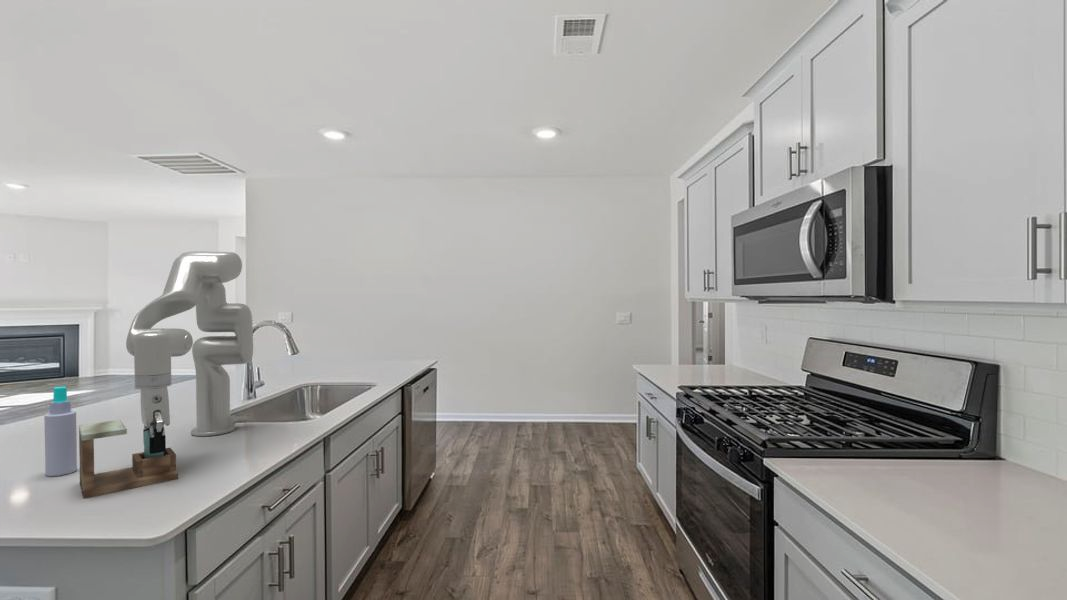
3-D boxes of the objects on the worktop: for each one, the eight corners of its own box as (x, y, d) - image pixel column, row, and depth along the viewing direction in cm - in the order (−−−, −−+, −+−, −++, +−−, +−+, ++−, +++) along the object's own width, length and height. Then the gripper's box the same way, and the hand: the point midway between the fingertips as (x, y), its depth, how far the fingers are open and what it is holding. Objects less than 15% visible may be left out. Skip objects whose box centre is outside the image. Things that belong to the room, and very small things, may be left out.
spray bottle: (51, 470, 136) (50, 386, 136) (80, 467, 139) (79, 384, 138) (40, 478, 131) (39, 390, 130) (71, 475, 133) (70, 388, 133)
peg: (162, 466, 135) (162, 427, 135) (165, 470, 132) (164, 430, 132) (143, 469, 133) (142, 430, 132) (145, 473, 130) (145, 433, 130)
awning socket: (168, 465, 140) (168, 413, 140) (178, 478, 131) (177, 422, 130) (79, 482, 128) (78, 425, 127) (83, 498, 118) (82, 435, 118)
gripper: (177, 383, 128) (178, 452, 129) (165, 374, 141) (166, 437, 141) (139, 387, 123) (141, 459, 124) (130, 378, 136) (131, 443, 136)
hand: (154, 447), depth 133 cm, fingers open, 9 cm apart
